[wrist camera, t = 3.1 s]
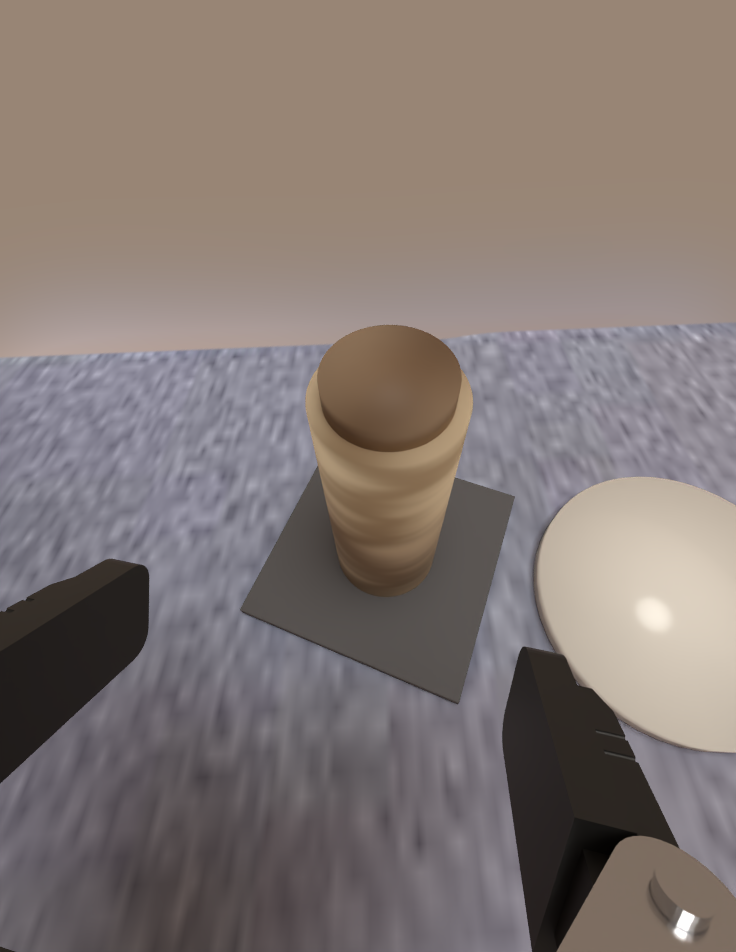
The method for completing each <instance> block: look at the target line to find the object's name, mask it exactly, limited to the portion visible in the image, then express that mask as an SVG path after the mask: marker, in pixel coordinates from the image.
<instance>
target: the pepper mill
mask: <svg viewBox="0 0 736 952" xmlns="http://www.w3.org/2000/svg"><path fill="white" fill-rule="evenodd" d="M472 408H473V396H472V391H471V387H470V384H469V382H468V380H467V378H466V376H465V374H464V373H463V371H462V370H461V369H460V365H459V363H458V360H457V358H456V357H455V355H454V354H453V352H452V351H451V350H450V349H449V348H448V347H447V346H446V345H445V344H444V343H443V342H442V341H440V340H439V339H437V338H436V337H434V336H432V335H431V334H429V333H426V332H424V331H421V330H418V329H415V328H411V327H407V326H398V325H380V326H373V327H368V328H364V329H360V330H358V331H355V332H352V333H350V334H349V335H346V336H345V337H343V338H341V339H340V340H339V341H337V342H336V343H335V344H334V345H333V346H332V347H331V348H330V349H329V350H328V351H327V352H326V354H325V355H324V357H323V358H322V360H321V362H320V365H319V367H318V369H317V370H316V372H315V373H314V374H313V376H312V378H311V380H310V382H309V385H308V388H307V392H306V412H307V417H308V422H309V426H310V431H311V435H312V440H313V444H314V449H315V454H316V458H317V463H318V467H319V472H320V476H321V481H322V486H323V490H324V495H325V499H326V504H327V508H328V513H329V518H330V522H331V527H332V531H333V536H334V540H335V545H336V550H337V554H338V559H339V563H340V566H341V569H342V571H343V573H344V574H345V576H346V577H347V579H348V580H349V581H350V582H351V583H352V584H353V585H354V586H355V587H357V588H358V589H360V590H361V591H363V592H365V593H368V594H371V595H374V596H379V597H394V596H398V595H402V594H405V593H407V592H409V591H411V590H413V589H414V588H416V587H417V586H418V585H419V584H420V583H421V582H422V581H423V580H424V579H425V578H426V576H427V574H428V573H429V571H430V568H431V566H432V562H433V558H434V554H435V551H436V547H437V543H438V539H439V535H440V532H441V528H442V524H443V520H444V516H445V513H446V509H447V505H448V501H449V497H450V494H451V490H452V486H453V482H454V478H455V475H456V471H457V467H458V463H459V459H460V455H461V452H462V448H463V444H464V440H465V436H466V433H467V429H468V425H469V421H470V417H471V414H472Z"/></svg>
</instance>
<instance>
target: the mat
mask: <svg viewBox="0 0 736 952" xmlns="http://www.w3.org/2000/svg"><path fill="white" fill-rule="evenodd" d="M514 498H515V496H511V495H508V494H505V493H502V492H499V491H496V490H493V489H489V488H486V487H483V486H480V485H477V484H474V483H471V482H467V481H464V480H461V479H458V478H454V482H453V486H452V490H451V494H450V497H449V501H448V505H447V509H446V513H445V516H444V520H443V524H442V528H441V532H440V535H439V539H438V543H437V547H436V551H435V554H434V558H433V562H432V566H431V568H430V571H429V573H428V574H427V576H426V578H425V579H424V580H423V581H422V582H421V583H420V584H419V585H418V586H417V587H416V588H414V589H413V590H411V591H409V592H407V593H405V594H402V595H398V596H394V597H379V596H374V595H371V594H368V593H365V592H363V591H361V590H360V589H358V588H357V587H355V586H354V585H353V584H352V583H351V582H350V581H349V580H348V579H347V577H346V576H345V574H344V573H343V571H342V569H341V566H340V563H339V559H338V554H337V550H336V545H335V540H334V536H333V531H332V527H331V522H330V518H329V513H328V508H327V504H326V499H325V495H324V490H323V486H322V481H321V476H320V472H319V467H318V466H317V468H316V470H315V472H314V474H313V476H312V478H311V479H310V481H309V483H308V485H307V487H306V489H305V490H304V492H303V494H302V496H301V498H300V500H299V502H298V503H297V505H296V507H295V509H294V511H293V513H292V514H291V516H290V518H289V520H288V522H287V524H286V526H285V527H284V529H283V531H282V533H281V535H280V537H279V539H278V540H277V542H276V544H275V546H274V548H273V550H272V551H271V553H270V555H269V557H268V559H267V561H266V563H265V564H264V566H263V568H262V570H261V572H260V574H259V575H258V577H257V579H256V581H255V583H254V585H253V587H252V588H251V590H250V592H249V594H248V596H247V598H246V599H245V601H244V603H243V605H242V607H241V609H240V610H241V611H242V612H243V613H245V614H248V615H250V616H252V617H255V618H257V619H259V620H262V621H264V622H266V623H269V624H271V625H273V626H276V627H278V628H280V629H283V630H285V631H287V632H290V633H292V634H294V635H297V636H299V637H302V638H304V639H306V640H309V641H311V642H313V643H316V644H318V645H320V646H323V647H325V648H327V649H330V650H332V651H334V652H337V653H339V654H341V655H344V656H346V657H348V658H351V659H353V660H355V661H358V662H360V663H362V664H365V665H367V666H369V667H372V668H374V669H376V670H379V671H381V672H383V673H386V674H388V675H390V676H393V677H395V678H398V679H400V680H402V681H405V682H407V683H409V684H412V685H414V686H416V687H419V688H421V689H423V690H426V691H428V692H430V693H433V694H435V695H437V696H440V697H442V698H444V699H447V700H449V701H451V702H454V703H456V704H458V703H459V700H460V697H461V693H462V689H463V686H464V682H465V678H466V675H467V671H468V667H469V664H470V660H471V656H472V652H473V649H474V645H475V641H476V638H477V634H478V630H479V627H480V623H481V619H482V616H483V612H484V608H485V605H486V601H487V597H488V594H489V590H490V586H491V582H492V579H493V575H494V571H495V568H496V564H497V560H498V557H499V553H500V549H501V546H502V542H503V538H504V535H505V531H506V527H507V523H508V520H509V516H510V512H511V509H512V505H513V501H514Z"/></svg>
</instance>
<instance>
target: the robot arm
mask: <svg viewBox="0 0 736 952" xmlns="http://www.w3.org/2000/svg"><path fill="white" fill-rule="evenodd" d="M148 623H149V573H148V570H147V568H146V567H145V566H143V565H139V564H135V563H130V562H125V561H120V560H116V559H107V560H104V561H103V562H101V563H99V564H97V565H95V566H94V567H92V568H90V569H88V570H86V571H85V572H83V573H81V574H79V575H78V576H76V577H73V578H70V579H67V580H64V581H61V582H57V583H54V584H51V585H49V586H47V587H45V588H43V589H42V590H40V591H38V592H36V593H34V594H32V595H31V596H29V597H27V599H26V601H24V600H21V601H19V602H18V603H16V604H14V605H12V606H10V607H8V608H7V610H6V611H5V612H2V611H1V612H0V783H1V782H2V781H3V780H4V779H6V778H7V777H8V776H9V775H10V774H11V773H12V772H13V771H14V770H15V769H16V768H17V767H19V766H20V765H21V764H22V763H23V762H24V761H25V760H26V759H27V758H28V757H29V756H30V755H31V754H33V753H34V752H35V751H36V750H37V749H38V748H39V747H40V746H41V745H42V744H43V743H44V742H46V741H47V740H48V739H49V738H50V737H51V736H52V735H53V734H54V733H55V732H56V731H57V730H58V729H60V728H61V727H62V726H63V725H64V724H65V723H66V722H67V721H68V720H69V719H70V718H71V717H73V716H74V715H75V714H76V713H77V712H78V711H79V710H80V709H81V708H82V707H83V706H84V705H85V704H87V703H88V702H89V701H90V700H91V699H92V698H93V697H94V696H95V695H96V694H97V693H98V692H100V691H101V690H102V689H103V688H104V687H105V686H106V685H107V684H108V683H109V682H110V681H111V680H112V679H114V678H115V677H116V676H117V675H118V674H119V673H120V672H121V671H122V670H123V669H124V668H125V667H127V666H128V665H129V664H130V663H131V662H132V661H133V660H134V659H135V658H136V657H137V656H138V654H139V653H140V651H141V650H142V648H143V646H144V644H145V641H146V638H147V635H148ZM502 743H503V753H504V760H505V767H506V774H507V781H508V787H509V794H510V801H511V808H512V815H513V822H514V829H515V836H516V843H517V850H518V857H519V864H520V871H521V878H522V884H523V891H524V898H525V905H526V912H527V919H528V926H529V933H530V940H531V947H532V952H736V898H735V897H734V896H733V895H732V893H731V892H730V891H729V890H728V888H727V887H726V886H725V885H724V884H723V883H722V882H721V881H720V880H719V879H718V878H717V877H716V876H715V875H714V874H713V873H712V872H711V871H710V870H709V869H708V868H706V867H705V866H704V865H703V864H701V863H700V862H699V861H698V860H696V859H695V858H693V857H692V856H690V855H689V854H687V853H686V852H684V851H683V850H681V849H680V848H679V846H678V844H677V842H676V840H675V838H674V836H673V834H672V832H671V830H670V828H669V826H668V823H667V821H666V819H665V817H664V815H663V813H662V811H661V809H660V807H659V805H658V803H657V801H656V799H655V797H654V794H653V792H652V790H651V788H650V786H649V784H648V782H647V780H646V778H645V776H644V774H643V772H642V770H641V768H640V765H639V763H637V762H635V755H634V753H633V751H632V749H631V747H630V745H629V743H628V741H626V740H625V734H624V732H623V730H622V728H621V726H620V724H619V722H618V720H617V718H616V716H615V714H614V712H613V710H612V709H611V708H610V707H609V706H608V705H607V704H606V703H605V702H604V701H603V700H602V699H601V698H600V697H599V696H598V695H597V693H596V692H595V691H594V690H593V689H592V688H587V687H582V686H578V685H577V684H576V681H575V679H574V676H573V674H572V671H571V669H570V667H569V664H568V662H567V659H566V657H565V656H564V655H563V654H558V653H553V652H549V651H544V650H539V649H534V648H529V647H522V649H521V651H520V653H519V656H518V660H517V664H516V668H515V672H514V676H513V681H512V685H511V689H510V693H509V697H508V701H507V705H506V709H505V714H504V720H503V731H502ZM0 952H14V951H11V950H8V949H5V948H3V947H0Z"/></svg>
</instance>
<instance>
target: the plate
mask: <svg viewBox="0 0 736 952" xmlns="http://www.w3.org/2000/svg"><path fill="white" fill-rule="evenodd" d="M534 592H535V599H536V604H537V608H538V612H539V616H540V619H541V622H542V624H543V627H544V629H545V632H546V634H547V637H548V639H549V641H550V643H551V644H552V646H553V648H554V650H555V652H556V653H558V654H563V655H564V656H565V657H566V659H567V662H568V664H569V667H570V669H571V671H572V674H573V676H574V679H575V680H576V681H577V682H578V683H579V684H580V686H582V687H587V688H592V689H593V690H594V691H595V692H596V693H597V695H598V696H599V697H600V698H601V699H602V700H603V701H604V702H605V703H606V704H607V705H608V706H609V707H610V708H611V709H612V710H613V712H614V714H615V716H616V717H617V718H618V719H620V720H621V721H623V722H625V723H626V724H628V725H630V726H631V727H633V728H634V729H636V730H638V731H640V732H642V733H644V734H646V735H648V736H651V737H653V738H655V739H657V740H660V741H663V742H666V743H669V744H671V745H674V746H677V747H681V748H686V749H691V750H696V751H703V752H719V753H731V752H736V505H734V504H732V503H730V502H728V501H726V500H725V499H723V498H721V497H719V496H717V495H714V494H712V493H710V492H708V491H705V490H703V489H700V488H697V487H694V486H691V485H688V484H685V483H681V482H677V481H673V480H668V479H661V478H654V477H628V478H619V479H614V480H609V481H605V482H603V483H600V484H597V485H594V486H592V487H590V488H588V489H586V490H584V491H582V492H580V493H579V494H578V495H576V496H575V497H573V498H572V499H571V500H570V501H569V502H568V503H567V504H566V505H565V506H564V507H563V508H562V509H561V510H560V511H559V512H558V514H557V515H556V516H555V518H554V519H553V521H552V522H551V523H550V525H549V526H548V528H547V529H546V531H545V533H544V535H543V537H542V539H541V541H540V544H539V547H538V550H537V553H536V558H535V565H534Z"/></svg>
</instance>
